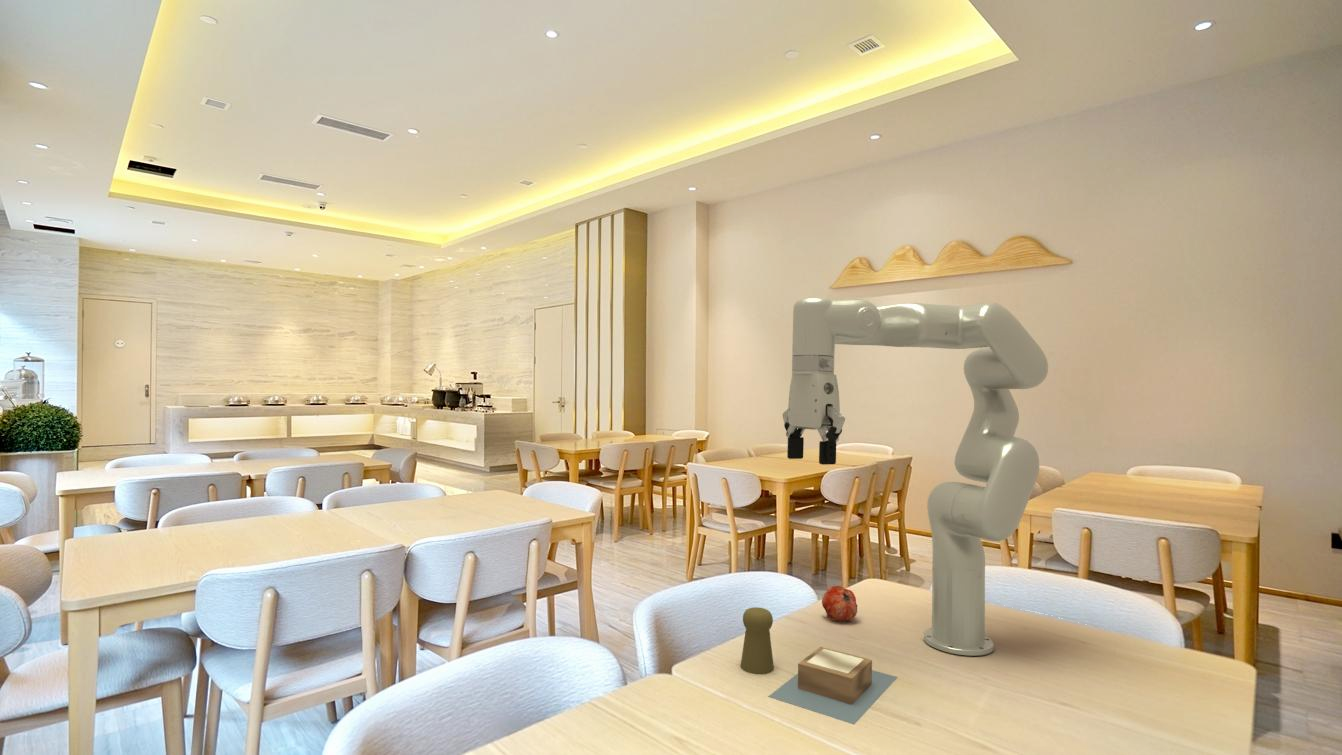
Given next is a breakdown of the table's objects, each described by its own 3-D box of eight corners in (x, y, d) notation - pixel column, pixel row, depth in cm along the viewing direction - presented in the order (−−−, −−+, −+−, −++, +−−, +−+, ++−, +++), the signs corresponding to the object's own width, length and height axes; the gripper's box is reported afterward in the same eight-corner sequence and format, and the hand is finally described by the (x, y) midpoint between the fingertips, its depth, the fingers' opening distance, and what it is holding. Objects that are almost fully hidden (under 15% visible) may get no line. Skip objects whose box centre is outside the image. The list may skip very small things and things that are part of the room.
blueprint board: (819, 661, 120) (819, 656, 120) (897, 682, 111) (897, 677, 111) (768, 702, 103) (768, 696, 104) (854, 731, 95) (854, 724, 95)
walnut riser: (820, 670, 114) (820, 645, 114) (871, 684, 108) (871, 658, 108) (797, 688, 106) (798, 662, 107) (851, 704, 101) (851, 677, 101)
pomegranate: (817, 626, 144) (829, 610, 136) (815, 593, 149) (827, 576, 141) (850, 630, 144) (864, 615, 136) (848, 597, 149) (861, 581, 141)
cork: (773, 682, 111) (774, 616, 111) (738, 678, 112) (738, 613, 112) (775, 667, 117) (776, 605, 117) (741, 664, 118) (742, 602, 118)
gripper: (861, 366, 113) (859, 466, 112) (802, 368, 129) (800, 456, 128) (825, 364, 110) (822, 467, 109) (769, 367, 126) (767, 456, 125)
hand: (810, 461), depth 119 cm, fingers open, 9 cm apart
